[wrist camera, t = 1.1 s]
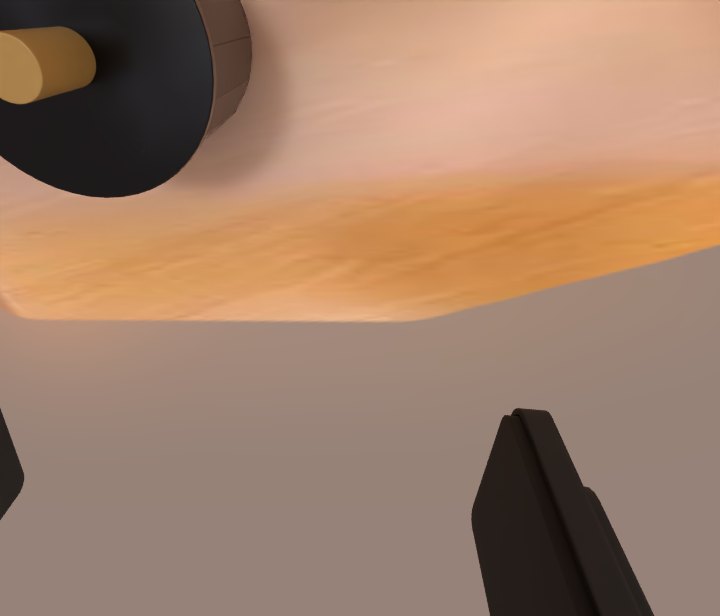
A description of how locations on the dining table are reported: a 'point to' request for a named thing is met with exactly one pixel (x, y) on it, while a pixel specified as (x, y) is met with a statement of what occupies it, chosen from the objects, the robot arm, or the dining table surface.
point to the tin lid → (104, 91)
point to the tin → (228, 55)
